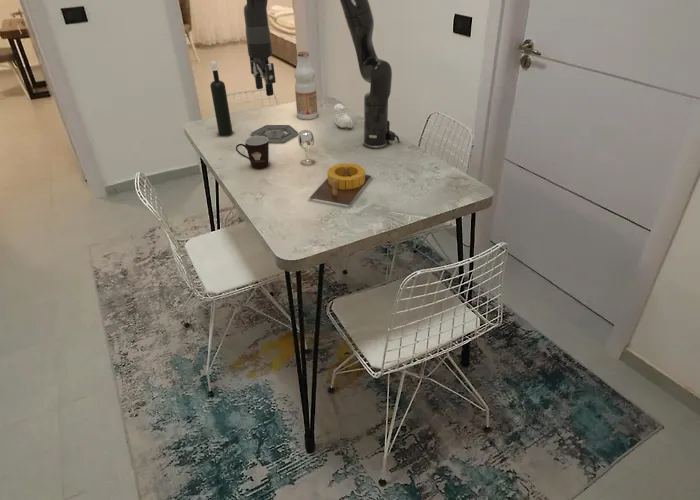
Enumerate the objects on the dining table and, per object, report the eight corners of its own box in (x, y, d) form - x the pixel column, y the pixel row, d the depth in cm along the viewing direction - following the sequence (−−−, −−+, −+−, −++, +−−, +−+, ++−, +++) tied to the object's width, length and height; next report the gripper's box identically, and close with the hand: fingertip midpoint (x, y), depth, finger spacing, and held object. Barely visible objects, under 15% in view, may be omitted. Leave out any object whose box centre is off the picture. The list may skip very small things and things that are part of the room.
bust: (336, 126, 221) (321, 110, 213) (348, 114, 220) (333, 97, 213) (349, 135, 212) (334, 118, 204) (361, 122, 212) (346, 105, 204)
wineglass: (313, 166, 183) (311, 136, 176) (298, 165, 184) (295, 135, 177) (317, 159, 188) (315, 129, 181) (302, 158, 189) (300, 129, 182)
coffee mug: (275, 162, 186) (273, 137, 180) (263, 172, 180) (260, 146, 174) (250, 157, 190) (246, 133, 184) (237, 166, 184) (233, 141, 178)
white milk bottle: (296, 120, 222) (291, 55, 206) (297, 112, 230) (292, 50, 214) (317, 119, 222) (313, 55, 206) (317, 112, 230) (314, 49, 214)
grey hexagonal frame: (255, 126, 216) (254, 125, 215) (300, 126, 215) (300, 124, 215) (247, 142, 202) (247, 140, 201) (295, 142, 201) (295, 140, 201)
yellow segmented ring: (352, 169, 178) (352, 160, 176) (371, 183, 169) (372, 173, 167) (321, 178, 173) (321, 168, 171) (340, 192, 164) (339, 183, 162)
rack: (335, 172, 179) (334, 156, 175) (371, 178, 174) (371, 162, 171) (309, 200, 162) (308, 183, 159) (348, 207, 158) (348, 190, 154)
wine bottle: (235, 132, 211) (224, 60, 194) (226, 137, 207) (213, 63, 190) (225, 130, 214) (213, 58, 196) (216, 134, 210) (202, 61, 192)
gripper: (279, 42, 150) (284, 95, 159) (260, 34, 160) (266, 84, 169) (256, 46, 147) (263, 100, 156) (239, 37, 157) (246, 88, 166)
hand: (264, 92), depth 163 cm, fingers open, 8 cm apart
